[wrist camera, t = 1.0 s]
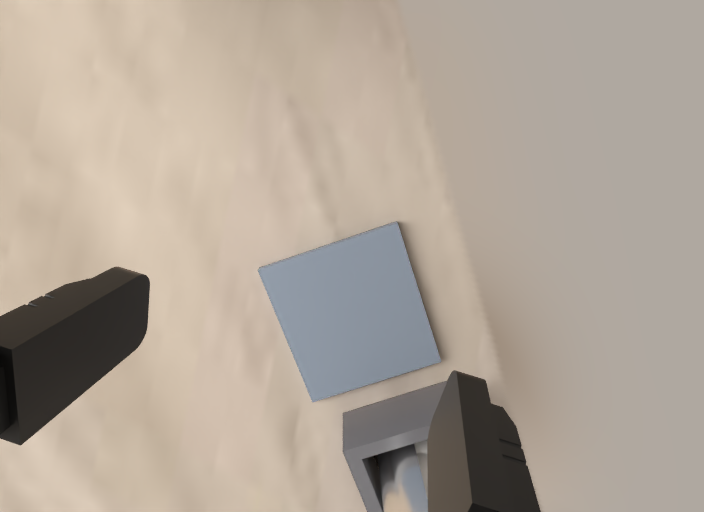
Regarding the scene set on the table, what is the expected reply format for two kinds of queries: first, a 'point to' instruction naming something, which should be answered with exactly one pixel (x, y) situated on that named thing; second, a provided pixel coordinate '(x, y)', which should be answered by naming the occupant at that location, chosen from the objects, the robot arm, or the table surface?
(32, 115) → the table surface
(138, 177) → the table surface
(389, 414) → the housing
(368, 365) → the rubber mat
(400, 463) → the chrome and white cylinder
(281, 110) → the table surface
